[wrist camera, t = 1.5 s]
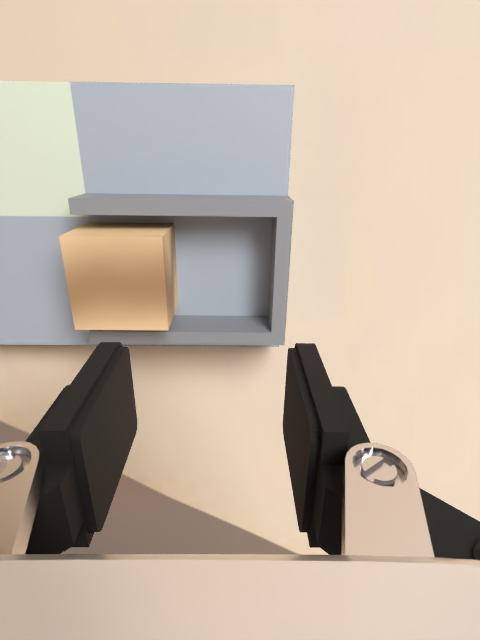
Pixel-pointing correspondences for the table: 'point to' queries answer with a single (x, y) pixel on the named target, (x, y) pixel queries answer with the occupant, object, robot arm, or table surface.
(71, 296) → the block
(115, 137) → the grey sorting tray
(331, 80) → the table surface
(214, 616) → the robot arm
